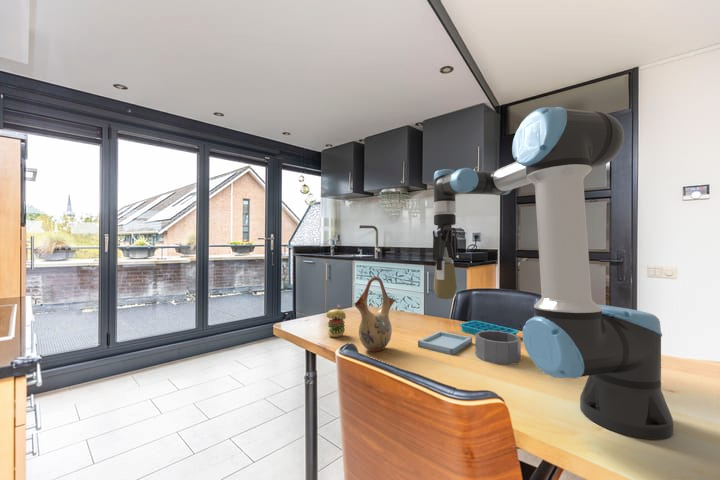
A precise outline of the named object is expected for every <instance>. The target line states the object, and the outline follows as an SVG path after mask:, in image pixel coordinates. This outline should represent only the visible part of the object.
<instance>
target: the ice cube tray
mask: <svg viewBox="0 0 720 480" xmlns="http://www.w3.org/2000/svg"><path fill="white" fill-rule="evenodd" d="M458 326H459V327H461V331H462V333H466V334H470V335H474V336H475V334H476V333H477V332H479V331H487V330H489V331H502V332H508V333H511V334H514V335H517V334H518V333H519V332H520V330H518V329H515V328H511V327H506V326H501V325H497V324H493V323H488V322H484V321H480V320H469V321H466V322H462V323H459V324H458Z"/></svg>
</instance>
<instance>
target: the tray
mask: <svg viewBox="0 0 720 480" xmlns="http://www.w3.org/2000/svg"><path fill="white" fill-rule="evenodd" d="M472 343H473V337H472V336H465V335H461V334H455V333H450V332H447V331H442V330H438V331H437V332H434V333H432V334H430V335H428V336H426V337H424V338H422V339H419V340H417V347H418V348H421V349H422V348H423V349H426V350H430V351H435V352H439V353H443V354H447V355H450V356H454V355H455V354H457V353H458V352H461V351H462V350H463V349H465V348H467V347H468V346H470V345H472Z"/></svg>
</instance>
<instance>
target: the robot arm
mask: <svg viewBox="0 0 720 480" xmlns="http://www.w3.org/2000/svg"><path fill="white" fill-rule="evenodd" d="M515 131H516V132H515V135H514V137H513V140H512V146H511V147H512V148H511V151H512V153H511V154H512V157H513V159H514V162H512V163H510V164H508V165H505V166H502V167H501V168H498V169H496V170H492V171H481V170H480V171H479V170H477V171H476V170H474V169H472V168H470V167H463V168H459V169H457V170H456V171H455V170H453V169H449V168H447V169H445V168H443V169H438V170H436V171H435V172H434V174H433V183H432V184H433V206H432V207H433V213H434V216H433V224H434V226H437V227H436V228H437V229H436V230H432V236H433V239H432V241H433V242H432V244H433V245H432V260H433V261H435V267H436V279H438V280H444V261H443V256H444V250H445V247H447V252H448V256H449V257H450V258H452V262H450V263H452V264H454V261H455V260H457V245H456V243H457V242H456V240H457V239H456V237H457V236H456V235H457V231H456V230H453V228H452V226H454V225H456V224H457V222H456V219H457V218H456V216H457V215H456V214H455V213H456V212H457V211H456V210H457V208H456V206H457V205H456V196H457V195H463V194H464V195H487V196H488V195H490V196H491V195H494V196H502V195H503V196H504V195H509V194H510V193H511V192H512V191H513V190H514V189H517V188H521V187H523V186H527V185H530V184H533V186H534V191H535V194H534V195H535V209H536V210H535V211H536V225H537V227H536V228H537V243H538V244H537V245H538V259H539V261H538V262H539V274H540V275H539V278H540V291H541V297H540V299H539V300H538V301H537V302H536V303H535V304H533V308H534V309H533V313H534V316H533V317H531V318H529V319H528V320H526V322H525V324H524V325H523V327H522V335H521V336H522V342H523V346H524V348H525V351H526V353H527V355H528V356H529V358H530V360H532V362H533V363H534V365H535V366H536V367H537V368H538V369H539V370H540V371H541V372H543V373H544V374H545V375H548V376H550V377H551V378H556V379H578V378H581V377H583V378H584V377H587V380H586V382H585V384H584V386H583V389H582V392H581V394H580V397H579V409H580V411H581V413H582V414H583V415H584V416H585V417H586V418H587V419H589V420H590V421H592V422H594V423H595V424H597V425H599V426H601V427H604V428H606V429H608V430H609V431H614V432H616V433H618V434H622V435H625V436H629V437H632V438H633V437H634V438H639V439H643V440H644V439H646V440H665V439H668V438H671V437H672V436H673V435H674V419H673V416H672V413H671V411H670V408H669V406H668V404H667V402H666V399H665V396H664V393H663V390H662V382H661V381H662V338H663V337H662V336H663V334H662V330H661V321H660V319H659V317H657V316H656V315H655V314H653V313H650V312H645V311H642V310H637V309H631V308H626V307H619V306H613V305H607V304H606V305H605V304H597V303H596V302H595V301H594V300H593V298H592V287H591V286H592V285H591V283H592V282H591V272H590V268H591V267H590V255H589V244H588V243H589V242H588V240H589V239H588V228H587V214H586V213H587V212H586V198H585V188H584V187H585V186H584V185H585V184H584V179H585V177H586V176H587V175H589V174H590V172H592V170H594V169H597V168H600V167H603V166H605V165H607V164H608V163H610V162H611V161H613V160H614V159H615V158H616V157H617V156H618V154H619V153H620V152H621V150H622V148H623V145H624V142H625V131H624V128H623V126H622V124H621V123H620V121H619V120H618V119H617V117H614V116H612V115H611V114H610V113H607V112H601V111H591V110H581V109H569V108H564V107H560V106H555V107H547V106H546V107H540V108H537V109H535V110H533V111H532V112H530V113H529V114H528V115H527V116H525V118H524V119H523V120H522V121H521V123H520V125H519V127H518V128H517V129H516V130H515Z"/></svg>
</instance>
